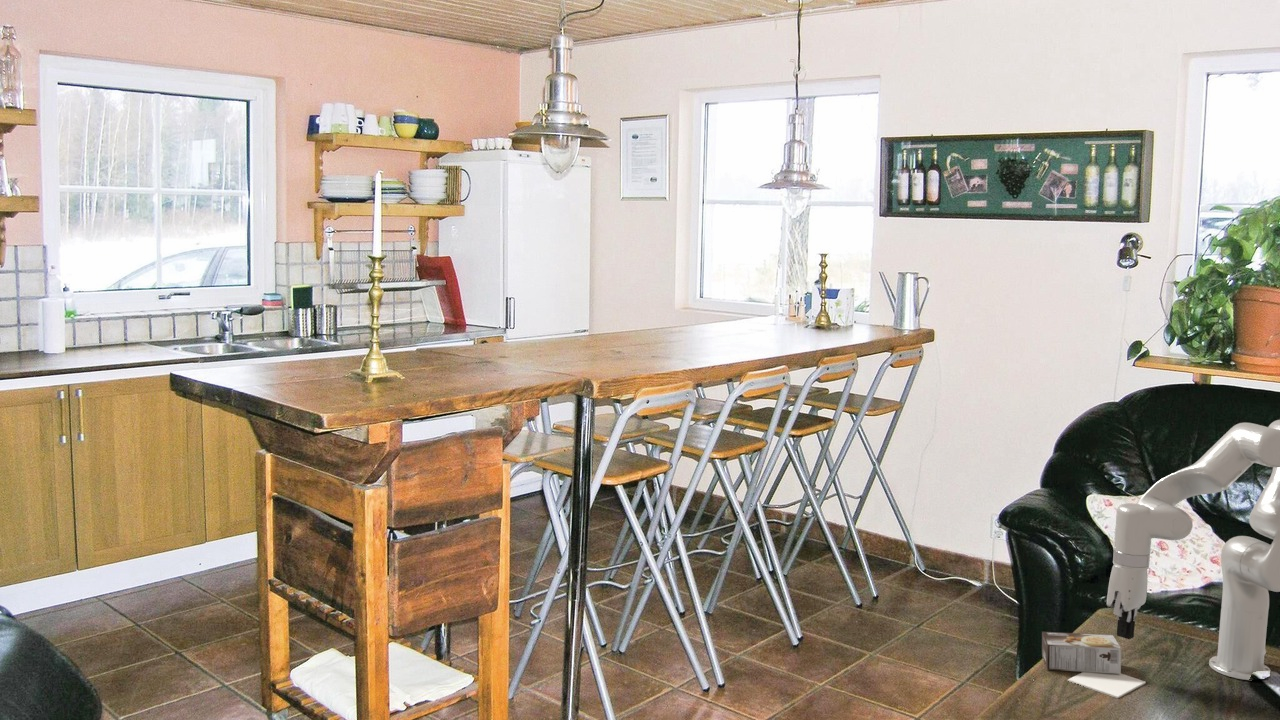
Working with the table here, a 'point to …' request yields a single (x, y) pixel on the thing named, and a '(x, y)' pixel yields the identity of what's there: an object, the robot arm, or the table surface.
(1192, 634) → the table surface
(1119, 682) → the mat
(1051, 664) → the coffee box
